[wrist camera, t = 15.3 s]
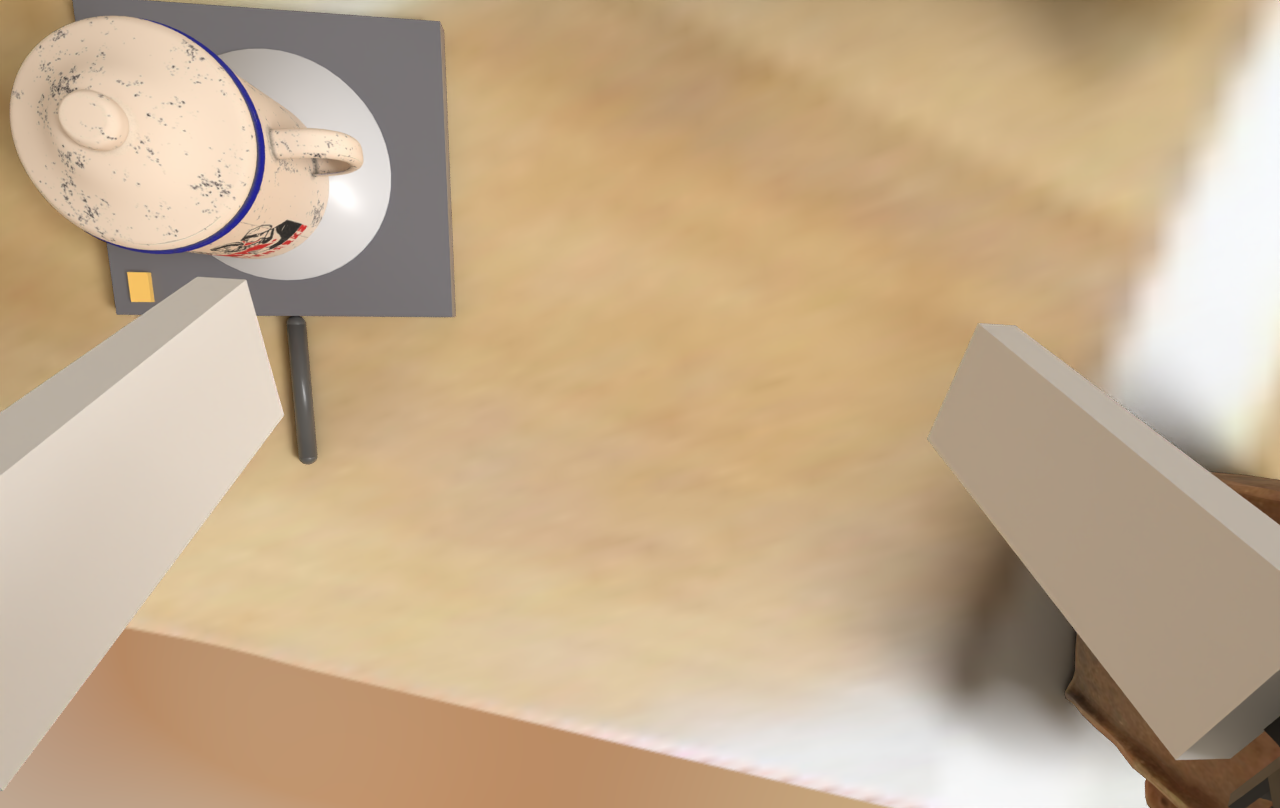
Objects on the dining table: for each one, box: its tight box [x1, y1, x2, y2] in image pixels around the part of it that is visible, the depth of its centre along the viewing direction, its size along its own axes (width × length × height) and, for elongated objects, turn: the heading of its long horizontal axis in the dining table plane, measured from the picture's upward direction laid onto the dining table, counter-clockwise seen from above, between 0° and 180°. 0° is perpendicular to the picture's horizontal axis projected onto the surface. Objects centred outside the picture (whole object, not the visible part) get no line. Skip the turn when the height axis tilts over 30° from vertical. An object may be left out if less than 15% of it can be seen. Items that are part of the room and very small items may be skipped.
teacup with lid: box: [10, 16, 363, 259], centre depth 27 cm, size 12×9×12 cm
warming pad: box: [73, 0, 456, 464], centre depth 34 cm, size 25×18×2 cm
